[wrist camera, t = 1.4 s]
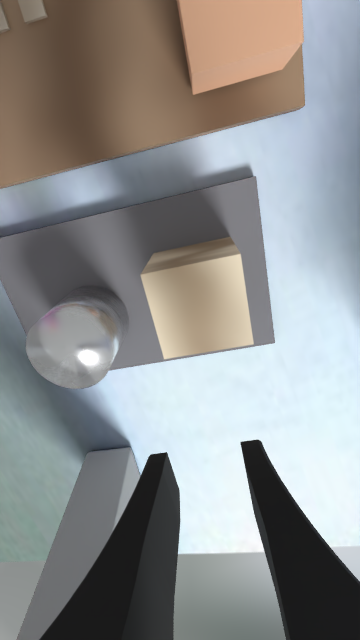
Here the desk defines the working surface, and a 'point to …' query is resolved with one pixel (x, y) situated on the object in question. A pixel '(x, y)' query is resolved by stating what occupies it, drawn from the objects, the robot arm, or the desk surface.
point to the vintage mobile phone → (81, 533)
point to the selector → (238, 39)
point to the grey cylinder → (78, 337)
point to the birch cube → (198, 298)
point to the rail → (111, 85)
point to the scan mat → (137, 260)
